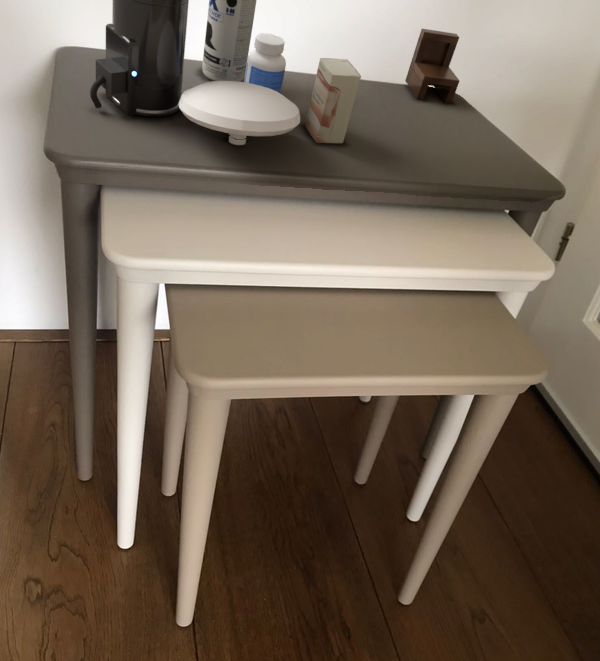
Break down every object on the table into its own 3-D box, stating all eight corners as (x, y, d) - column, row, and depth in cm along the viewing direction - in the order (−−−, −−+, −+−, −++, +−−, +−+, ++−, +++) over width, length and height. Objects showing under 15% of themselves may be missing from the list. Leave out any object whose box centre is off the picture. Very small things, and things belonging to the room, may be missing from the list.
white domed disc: (157, 71, 85) (155, 125, 89) (219, 109, 75) (215, 169, 79) (260, 70, 94) (255, 120, 98) (328, 104, 84) (319, 158, 88)
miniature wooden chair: (416, 99, 112) (434, 45, 105) (405, 80, 116) (421, 28, 110) (451, 103, 113) (471, 50, 107) (438, 85, 118) (456, 33, 112)
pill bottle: (284, 114, 97) (297, 47, 90) (252, 117, 94) (263, 48, 88) (266, 96, 100) (277, 30, 94) (234, 99, 97) (243, 31, 91)
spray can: (196, 65, 104) (210, -80, 90) (238, 67, 106) (257, -74, 93) (207, 84, 99) (224, -65, 86) (250, 86, 102) (273, -59, 89)
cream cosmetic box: (303, 125, 96) (318, 56, 89) (331, 126, 98) (348, 58, 91) (315, 144, 93) (332, 73, 86) (344, 144, 94) (362, 75, 88)
